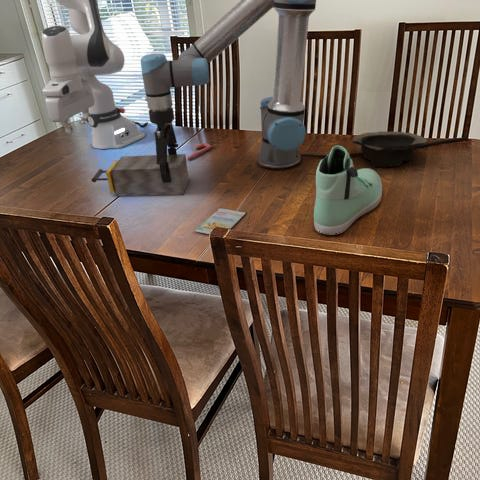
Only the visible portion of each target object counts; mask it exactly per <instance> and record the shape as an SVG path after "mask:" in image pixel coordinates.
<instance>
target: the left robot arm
mask: <svg viewBox="0 0 480 480" xmlns="http://www.w3.org/2000/svg"><path fill="white" fill-rule="evenodd" d="M55 1H56V3H58V4H60V5H61V6H63V7H65V8H67V11H68V17H69V24H70V27H71V29H72V30H73V32H75V33H76V34H70V32H69V30H68V28H67V27H66V26H62V25H55V26H49V27H46V28H44V29H43V30H41V43H42V44H41V45H42V49H43V53H44V54H43V55H44V58H45V62H46V64H47V66H48V68H49V69H48V70H49V79H50V80H49V81H48V83H47V84H46V85H45V86H44V87H43V89H42V90H41V92H42V95H43V97H45V107H46V111H47V114H48V118H49V120H50V121H51V122H52V123H60V124H61V126H62V127H63V128H64V131H65V133H66V134H71V133H72V132H74V130H73V126H72V125H70V123H69V122H70V121H69V119H71V118H72V117H74V116H76V115H78V114H81V113H82V114H81V115H82V117H81V119H80V120H81V123H82V124H83V125H87V124H89V125H90V127H91V128H90V129H91V137H92V138H91V140H92V141H91V147H92V148H94V149H98V150H107V149H121V148H122V149H123V148H124V147H127V146H128V145H131V144H132V143H135V142H137V141H139V140H141V139H143V138H145V137H146V135H145V133H144V132H142V131H140V130H139V129H138V127H140V128H145V127H146V126H147V125H149V122H147V121H146V122H145V123H143V124H141V123H140V122H138V121H134V120H131V119H129V118H127V117H125V116H123V115H122V114H125V112H126V109H125V108H124V107H123V108H122V107H117V106H116V103H115V97H114V94H113V90H112V88H111V87H110V86H109V85H107V84H105V83H103V82H101V81H100V80H99V79H98V77H97V76H105V75H113V74H116V73H120V72H121V71H122V70H123V69H124V66H125V54H124V53H123V50H122V49H121V47H119V46H118V45H116V44H115V43H113V41H112V40H111V39H110V38H109V36H107V34H106V32H105V30H104V27H103V23H102V19H101V15H100V9H99V8H100V7H99V3H98V1H99V0H55Z"/></svg>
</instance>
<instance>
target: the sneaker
mask: <svg viewBox="0 0 480 480" xmlns="http://www.w3.org/2000/svg"><path fill="white" fill-rule="evenodd" d="M349 153H350V152H348V150H347V148H345V147H344V146H342V145H334V146H333V147H331V149H330V151H329V155H327V154H326V155H327V156H326V157H323V158H322V159H321V160H320V161H319V163H318V164H317V165H318V166H317V168H316V172H315V201H314V207H313V225H314V229H315V231H316V232H318V233H320V234H323V235H326V236H327V235H328V236H336V235H339V234H342V233H344V232H345V231H347V230H348V229H349V228H350V227H351V226H352V225H353V224H354V222H356V221H357V220H358V219H359V218H360V217H362V216H363V215H365V214H367V213H370V212H372V210H374V209H375V208H377V207H378V205H380V203H381V200H382V196H383V184H382V183H383V182H382V179H381V176H380V175H379V173H378V172H377V171H376V170H374V169H372V168H367V167H365V168H358V169H357V168H355V167H354V161H353V159H352V158H351V156H349ZM343 230H344V231H343ZM319 231H320V232H319ZM322 232H323V233H322ZM339 232H340V233H339ZM326 233H327V234H326ZM328 233H329V234H328ZM335 233H337V234H335Z"/></svg>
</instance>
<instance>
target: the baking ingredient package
mask: <svg viewBox="0 0 480 480" xmlns="http://www.w3.org/2000/svg"><path fill="white" fill-rule="evenodd" d="M245 214H246V212H245V211H239V210H233V209H227V208H220V207H219V208H218V209H217V210H215V211H214V212H213V214H212V215H210V216H209V217H208V218H207V219H206V220H205V221H204V222H203V223H202V224H201V225H200V226H198V227H197V228H196V229H195V230H194V232H197V233H200V234H201V233H202V234H206V235H211V234H210V232H211V230H212V229H213V228H214V227H226V228H230V229H232V228H233V226H235V224H237V223H238V222H239V221H240V219H242V217H244V216H245Z"/></svg>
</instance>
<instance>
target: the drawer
mask: <svg viewBox="0 0 480 480" xmlns="http://www.w3.org/2000/svg"><path fill="white" fill-rule="evenodd" d="M118 161H119V159H115V160H114V162H113V163H112V164H111V165H110V167H109V168H108V169H107V170H103V169H102V168H99V169H98V170H97V172H96V173H95V174H93V176H92V178H91V182H92V183H96V182H99V181H107V184H108V188H109V192H110V194H116V189H115V184H114V180H113V176H112V171H111V170H112V168H113V167H114V166H115V165H116V163H117V162H118ZM103 174H105V175H106V177H101V176H102V175H103Z"/></svg>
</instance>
